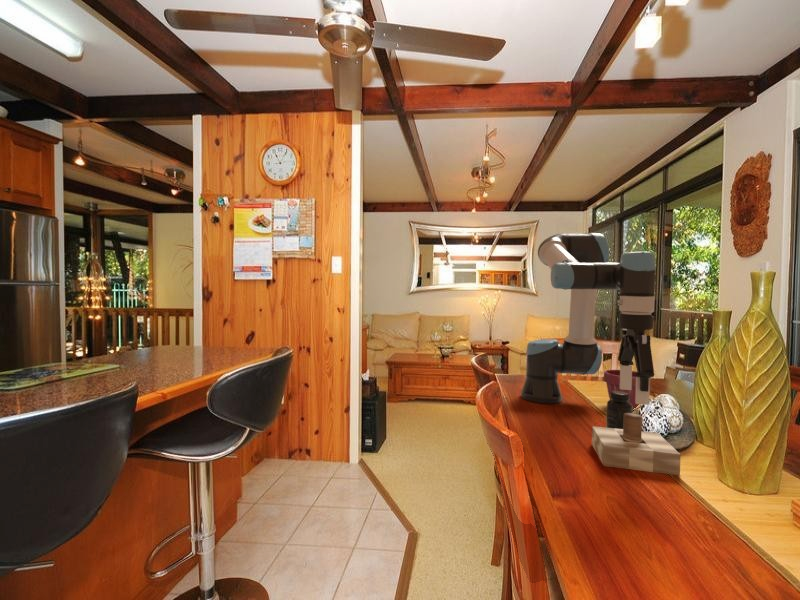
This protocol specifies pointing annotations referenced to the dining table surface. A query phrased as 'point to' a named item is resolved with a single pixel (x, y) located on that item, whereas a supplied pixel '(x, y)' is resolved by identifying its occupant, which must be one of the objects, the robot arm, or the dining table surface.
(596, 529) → the dining table surface
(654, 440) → the seat board
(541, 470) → the dining table surface
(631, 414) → the peg
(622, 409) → the supplement bottle
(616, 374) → the plant pot
